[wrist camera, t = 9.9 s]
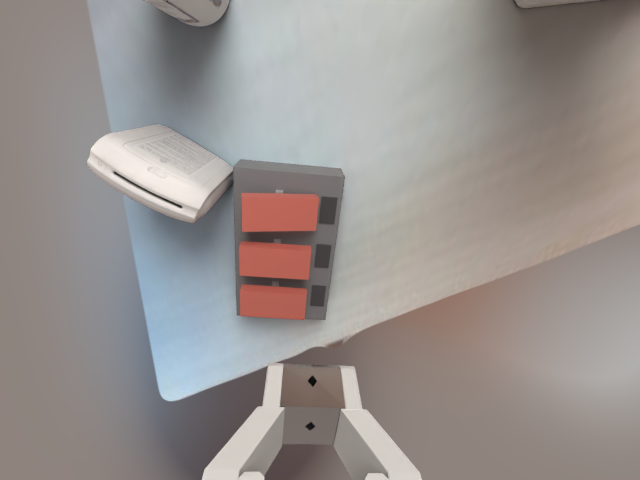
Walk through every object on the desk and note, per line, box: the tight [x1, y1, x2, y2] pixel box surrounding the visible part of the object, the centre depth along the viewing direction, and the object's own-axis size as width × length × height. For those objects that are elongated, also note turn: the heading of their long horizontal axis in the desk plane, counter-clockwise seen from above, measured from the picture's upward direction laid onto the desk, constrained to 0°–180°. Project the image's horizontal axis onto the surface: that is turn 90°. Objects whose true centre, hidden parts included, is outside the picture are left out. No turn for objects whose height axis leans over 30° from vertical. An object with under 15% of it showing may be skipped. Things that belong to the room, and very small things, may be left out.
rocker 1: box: [241, 193, 319, 232], centre depth 33 cm, size 8×4×1 cm, turn 85°
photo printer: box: [87, 124, 233, 223], centre depth 30 cm, size 10×4×12 cm, turn 57°
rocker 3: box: [240, 284, 307, 320], centre depth 38 cm, size 8×4×1 cm, turn 84°
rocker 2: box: [239, 241, 311, 280], centre depth 35 cm, size 8×4×1 cm, turn 84°
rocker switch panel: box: [233, 160, 345, 320], centre depth 38 cm, size 12×20×5 cm, turn 174°
